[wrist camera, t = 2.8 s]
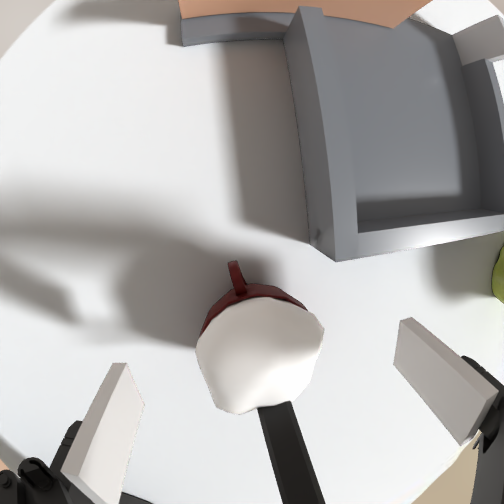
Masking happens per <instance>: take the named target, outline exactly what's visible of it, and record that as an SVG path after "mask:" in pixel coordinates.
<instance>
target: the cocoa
mask: <svg viewBox="0 0 504 504" xmlns="http://www.w3.org/2000/svg"><path fill="white" fill-rule="evenodd" d="M228 267H229V272H230V276H231V279H232V282H233V286H234V289H232V290H230V291H229V292H228V293H227V294H226V295H224V296H223V297H222V298H221V299H220V300H219V301H218V302H216V303H215V304H214V305H213V306H212V307H211V309H210V310H209V312H208V315H207V317H206V320H205V322H204V325H203V328H202V330H201V333H200V337H199V339H198V342H197V346H196V350H195V353H196V357H197V360H198V363H199V366H200V369H201V372H202V374H203V376H204V379H205V381H206V383H207V385H208V388H209V391H210V393H211V396H212V399H213V401H214V404H215V406H216V407H217V408H219V409H221V410H223V411H226V412H229V413H233V414H237V415H241V414H244V413H246V412H249V411H252V410H254V409H257V410H258V414H259V418H260V422H261V426H262V429H263V433H264V437H265V441H266V445H267V448H268V452H269V456H270V460H271V463H272V467H273V471H274V474H275V478H276V481H277V485H278V488H279V492H280V495H281V499H282V502H283V504H325V501H324V498H323V495H322V492H321V489H320V486H319V483H318V480H317V478H316V475H315V472H314V469H313V466H312V463H311V460H310V457H309V454H308V451H307V448H306V445H305V442H304V439H303V436H302V433H301V430H300V428H299V425H298V422H297V419H296V416H295V413H294V410H293V407H292V404H291V402H293V401H294V400H295V399H296V398H297V396H298V395H299V394H300V393H301V392H302V390H303V389H304V388H305V387H306V386H307V384H308V383H309V382H310V380H311V376H312V372H313V368H314V364H315V362H316V360H317V357H318V355H319V353H320V350H321V348H322V342H323V335H324V328H323V327H322V325H321V324H320V322H319V321H318V319H317V318H316V317H315V315H314V314H312V313H310V312H308V310H307V309H306V307H305V306H304V305H303V304H302V303H301V302H299V301H298V300H296V299H295V298H293V297H292V296H290V295H289V294H287V293H285V292H284V291H282V290H281V289H279V288H277V287H275V286H269V285H260V284H248V285H247V283H246V282H245V280H244V278H243V275H242V273H241V270H240V268H239V265H238V262H237V261H231V262H229V263H228Z"/></svg>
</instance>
